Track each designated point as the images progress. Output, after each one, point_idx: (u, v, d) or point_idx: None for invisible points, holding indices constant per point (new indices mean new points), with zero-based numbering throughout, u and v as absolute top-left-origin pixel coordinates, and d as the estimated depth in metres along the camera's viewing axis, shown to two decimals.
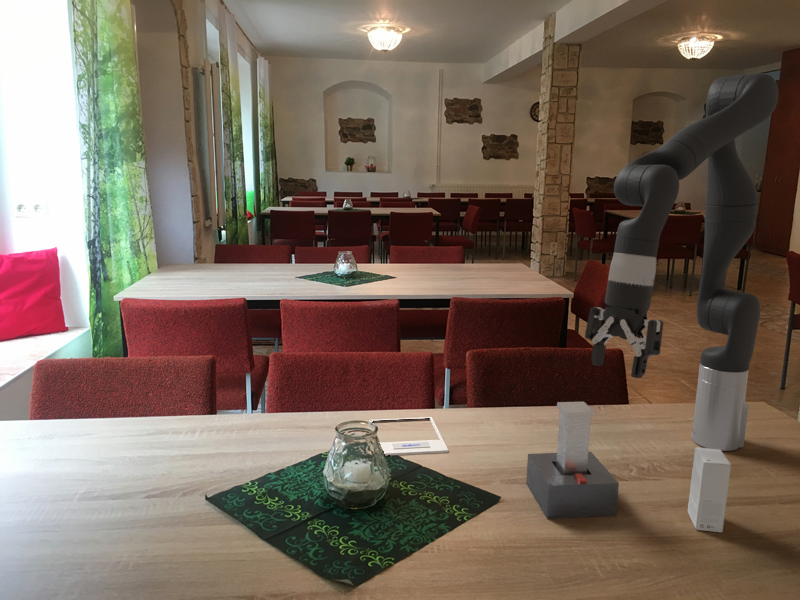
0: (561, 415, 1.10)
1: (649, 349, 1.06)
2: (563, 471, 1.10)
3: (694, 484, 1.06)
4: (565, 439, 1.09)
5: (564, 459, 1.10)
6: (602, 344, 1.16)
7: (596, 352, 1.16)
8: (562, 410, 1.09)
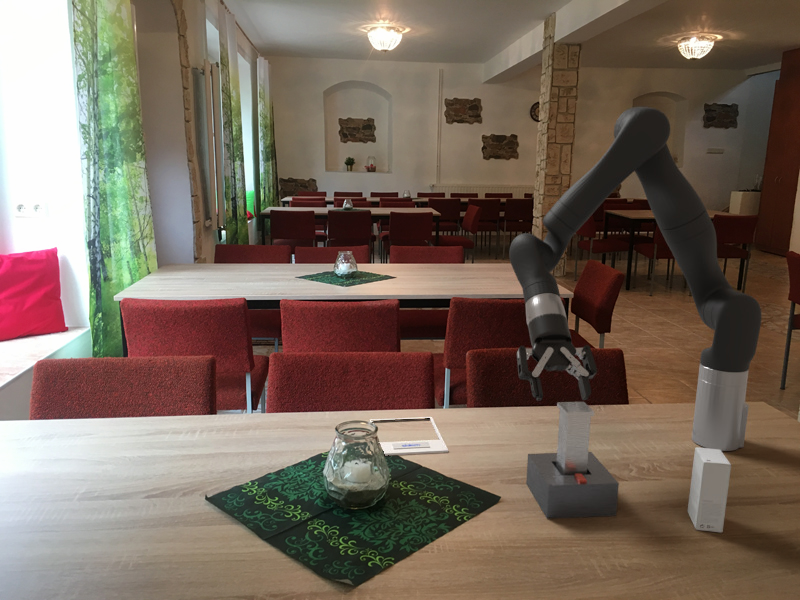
0: (561, 415, 1.10)
1: None
2: (563, 471, 1.10)
3: (694, 484, 1.06)
4: (565, 439, 1.09)
5: (564, 459, 1.10)
6: (581, 378, 1.17)
7: (580, 388, 1.18)
8: (562, 410, 1.09)
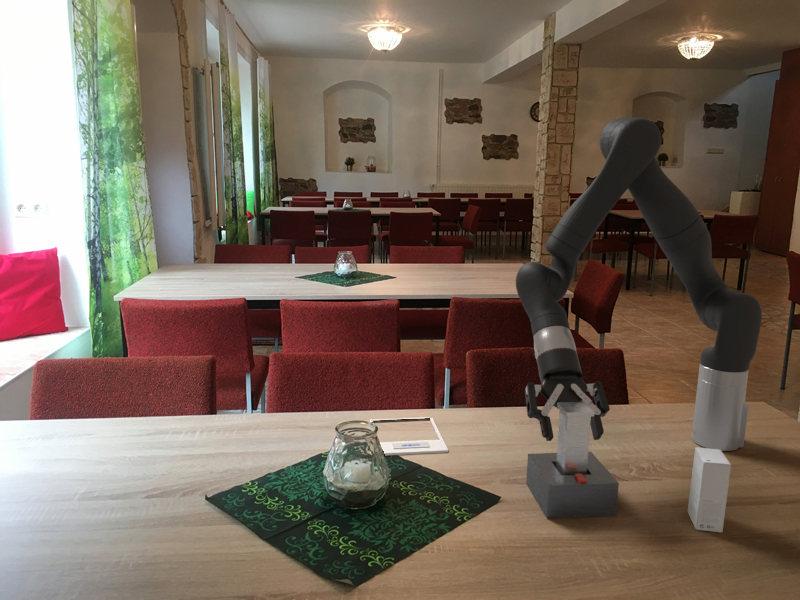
0: (561, 415, 1.10)
1: None
2: (563, 471, 1.10)
3: (694, 484, 1.06)
4: (565, 439, 1.09)
5: (564, 459, 1.10)
6: (592, 416, 1.12)
7: (592, 427, 1.13)
8: (562, 410, 1.09)
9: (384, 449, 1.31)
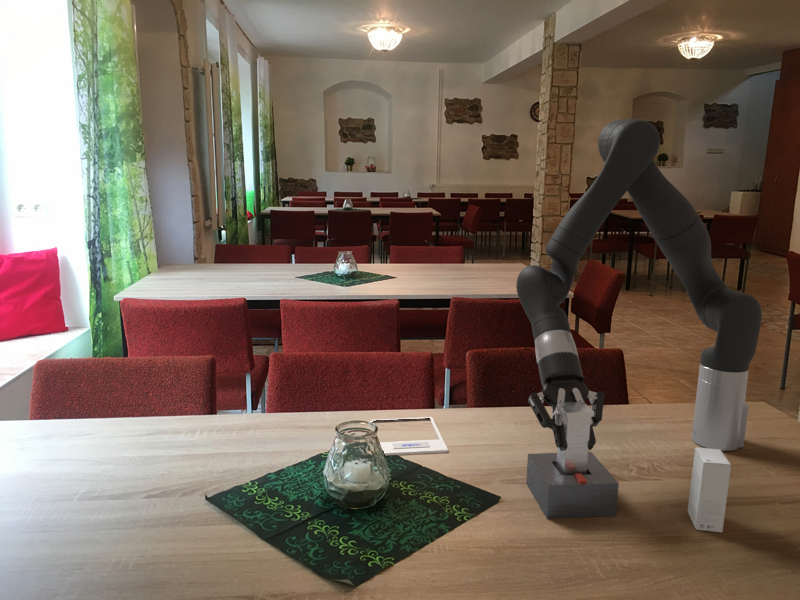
0: (561, 415, 1.10)
1: None
2: (563, 471, 1.10)
3: (694, 484, 1.06)
4: None
5: (564, 459, 1.10)
6: None
7: None
8: (562, 410, 1.09)
9: (384, 449, 1.31)
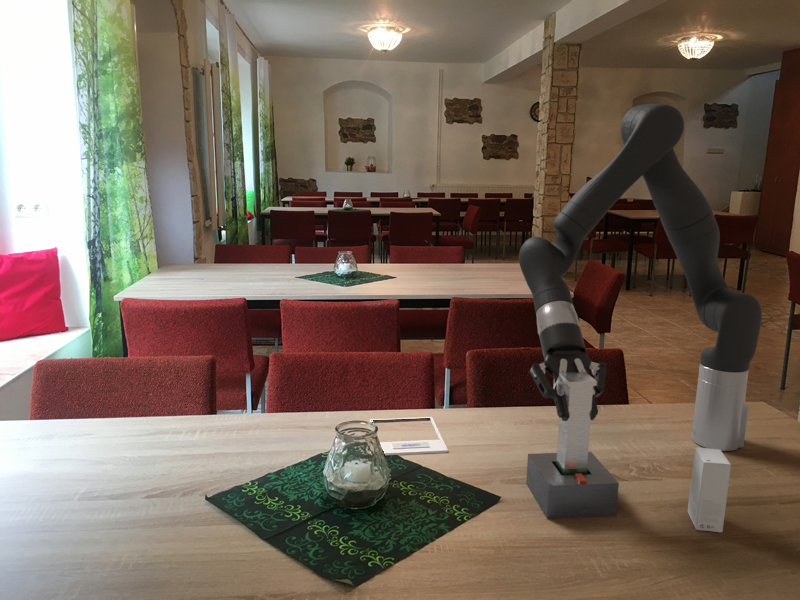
0: (563, 385, 1.09)
1: None
2: (565, 442, 1.09)
3: (694, 484, 1.06)
4: None
5: (566, 430, 1.08)
6: None
7: None
8: (564, 380, 1.08)
9: (384, 449, 1.31)
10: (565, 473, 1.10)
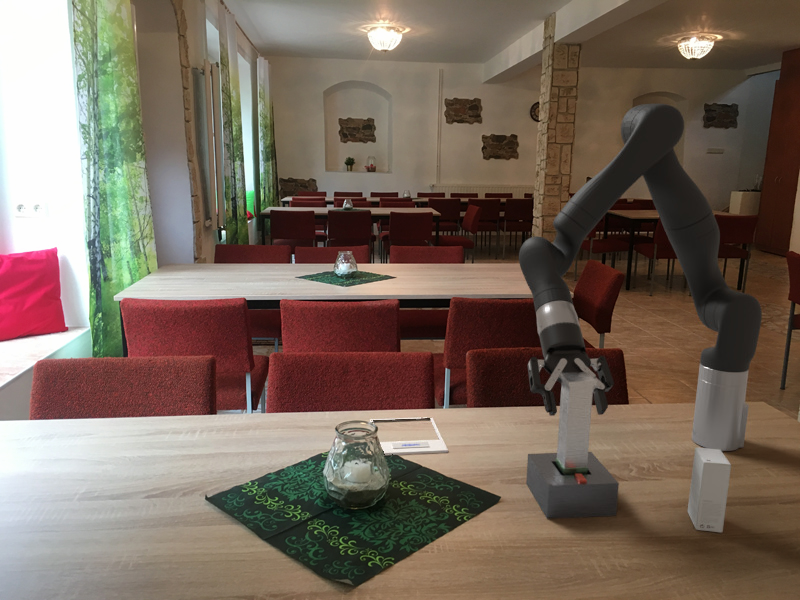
0: (563, 385, 1.09)
1: None
2: (565, 442, 1.09)
3: (694, 484, 1.06)
4: (567, 409, 1.08)
5: (566, 430, 1.08)
6: (596, 391, 1.11)
7: (596, 402, 1.11)
8: (564, 380, 1.08)
9: (384, 449, 1.31)
10: (565, 473, 1.10)
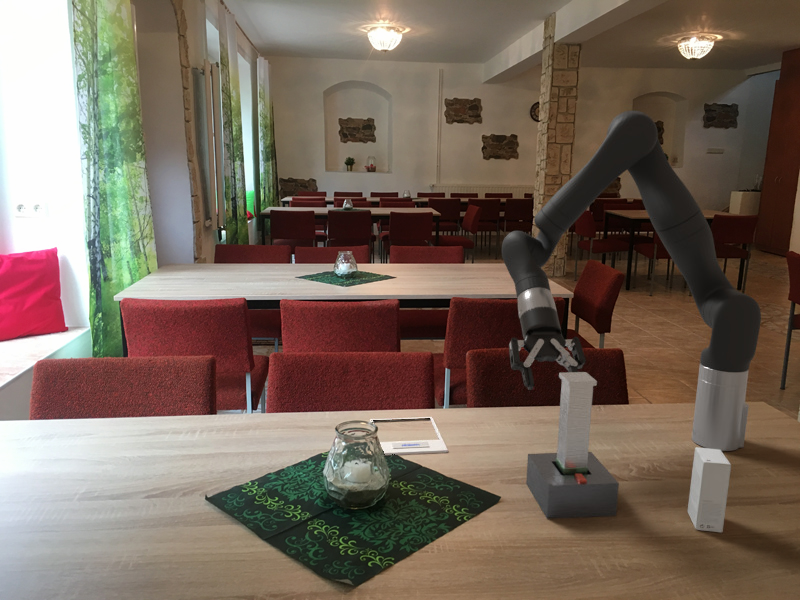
0: (563, 385, 1.09)
1: None
2: (565, 442, 1.09)
3: (694, 484, 1.06)
4: (567, 409, 1.08)
5: (566, 430, 1.08)
6: (570, 368, 1.23)
7: None
8: (564, 380, 1.08)
9: (384, 449, 1.31)
10: (565, 473, 1.10)
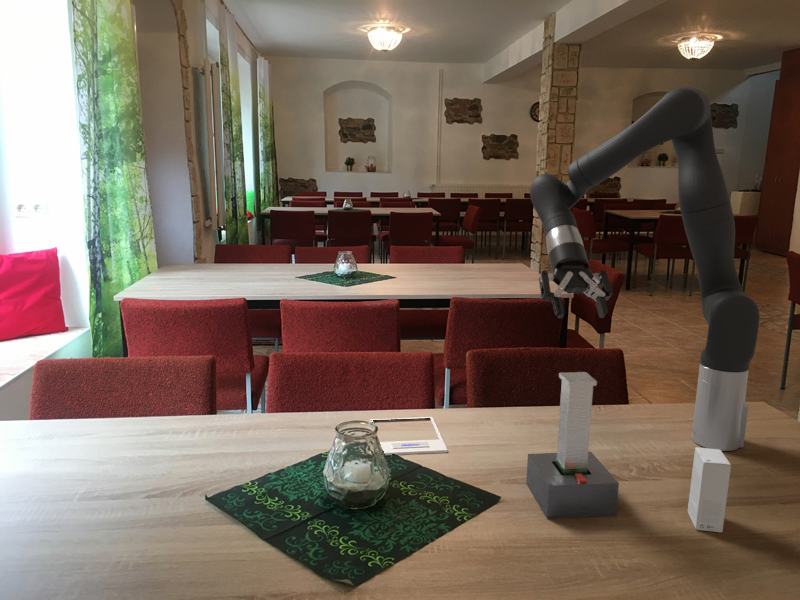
0: (563, 385, 1.09)
1: None
2: (565, 442, 1.09)
3: (694, 484, 1.06)
4: (567, 409, 1.08)
5: (566, 430, 1.08)
6: (598, 298, 1.29)
7: (597, 308, 1.30)
8: (564, 380, 1.08)
9: (383, 449, 1.31)
10: (565, 473, 1.10)
